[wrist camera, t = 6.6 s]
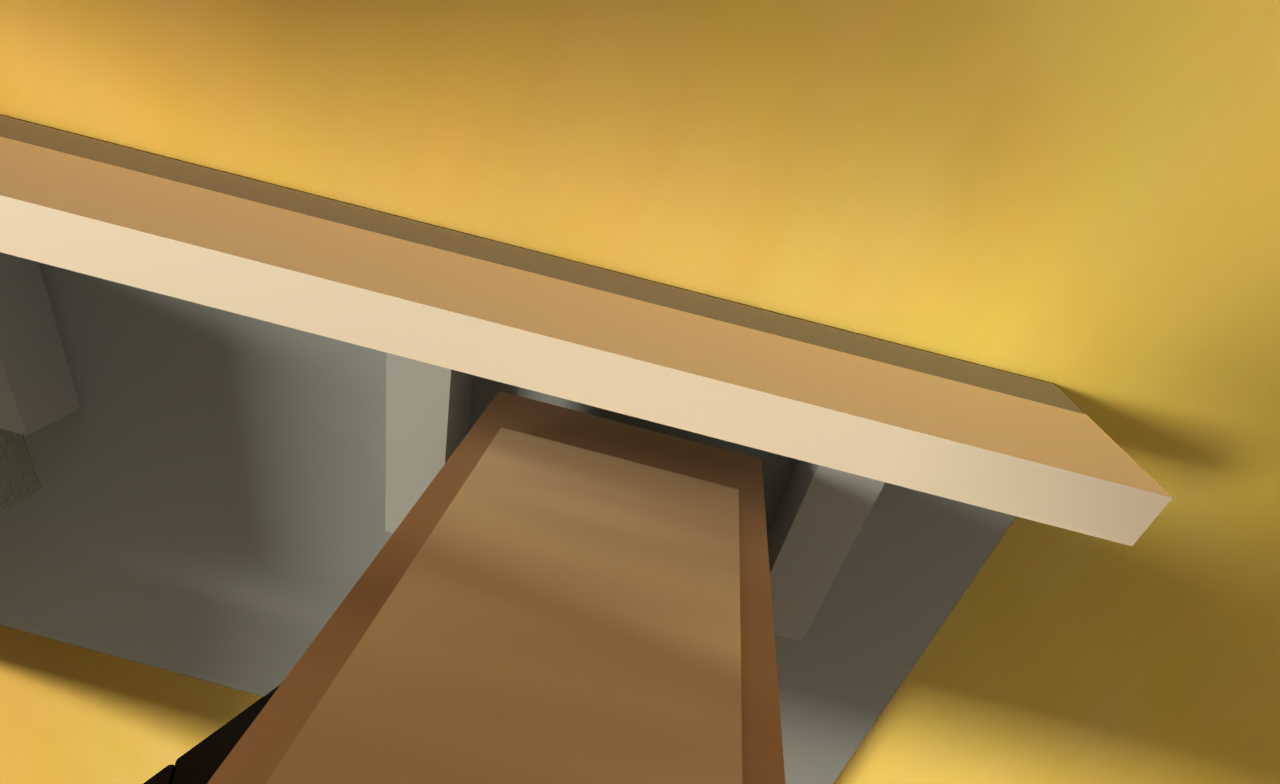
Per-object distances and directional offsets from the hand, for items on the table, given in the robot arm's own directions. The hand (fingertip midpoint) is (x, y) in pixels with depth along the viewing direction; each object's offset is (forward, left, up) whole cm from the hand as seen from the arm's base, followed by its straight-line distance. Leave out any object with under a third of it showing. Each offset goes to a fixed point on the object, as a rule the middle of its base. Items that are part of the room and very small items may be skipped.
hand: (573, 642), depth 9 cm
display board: (-5, -2, -4) cm, 7 cm away
